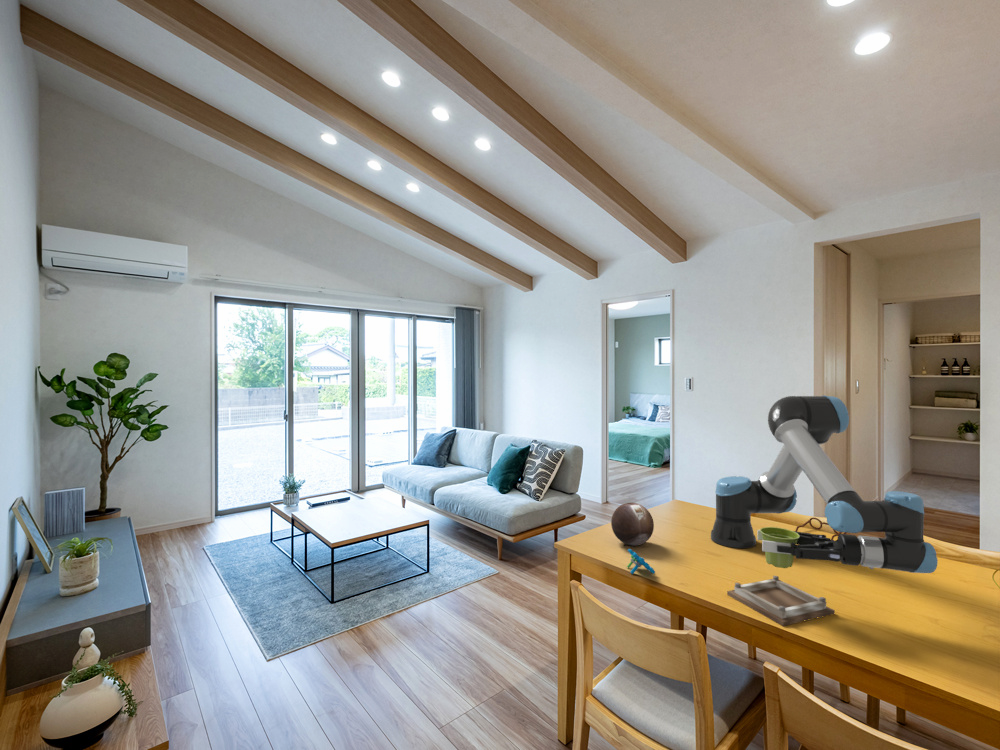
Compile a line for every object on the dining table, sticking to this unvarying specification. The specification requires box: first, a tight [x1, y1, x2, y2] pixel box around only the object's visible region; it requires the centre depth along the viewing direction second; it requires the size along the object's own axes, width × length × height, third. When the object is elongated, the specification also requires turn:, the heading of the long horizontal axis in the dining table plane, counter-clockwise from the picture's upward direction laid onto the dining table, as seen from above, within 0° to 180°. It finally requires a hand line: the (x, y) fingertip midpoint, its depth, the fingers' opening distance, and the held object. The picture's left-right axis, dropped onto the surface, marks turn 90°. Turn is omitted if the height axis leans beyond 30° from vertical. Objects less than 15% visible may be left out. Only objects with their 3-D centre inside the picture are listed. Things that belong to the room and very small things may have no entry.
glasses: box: [795, 517, 848, 540], centre depth 188 cm, size 13×13×5 cm
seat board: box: [726, 575, 836, 627], centre depth 133 cm, size 18×18×4 cm
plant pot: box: [759, 526, 800, 569], centre depth 133 cm, size 9×9×9 cm
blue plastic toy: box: [626, 548, 656, 575], centre depth 154 cm, size 11×6×10 cm
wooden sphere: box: [610, 502, 655, 547], centre depth 178 cm, size 15×15×15 cm
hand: (759, 540), depth 134 cm, fingers closed on plant pot, 8 cm apart
